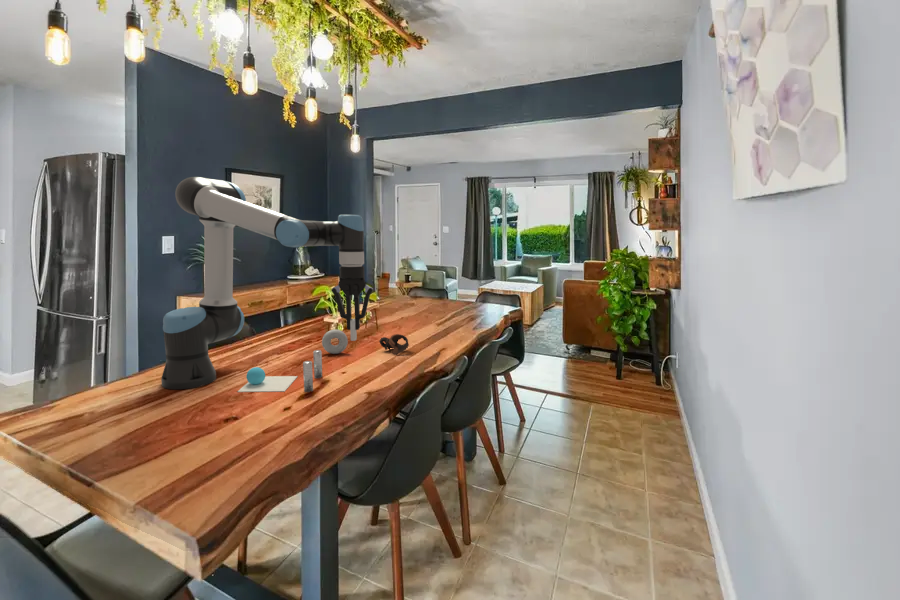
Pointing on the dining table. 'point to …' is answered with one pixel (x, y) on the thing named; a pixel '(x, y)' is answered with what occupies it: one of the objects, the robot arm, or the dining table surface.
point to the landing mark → (270, 384)
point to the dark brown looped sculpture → (394, 343)
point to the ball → (255, 375)
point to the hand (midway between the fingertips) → (353, 339)
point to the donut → (331, 348)
